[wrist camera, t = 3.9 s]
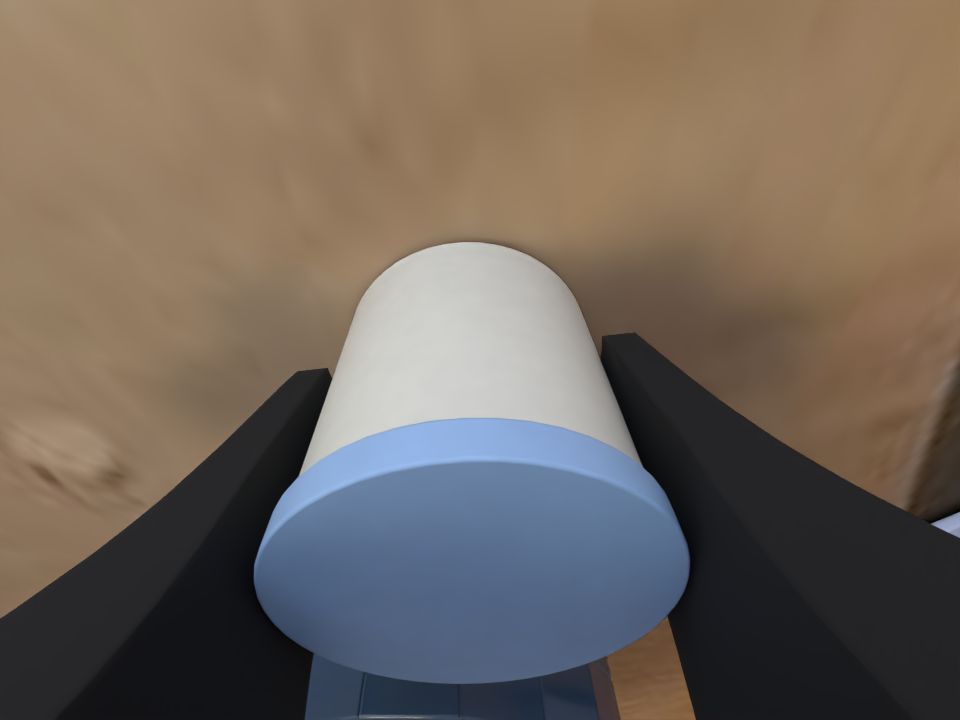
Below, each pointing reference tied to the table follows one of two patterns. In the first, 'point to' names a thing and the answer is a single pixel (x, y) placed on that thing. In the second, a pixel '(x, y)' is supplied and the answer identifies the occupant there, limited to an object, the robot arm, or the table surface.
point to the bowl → (460, 696)
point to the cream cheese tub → (470, 487)
